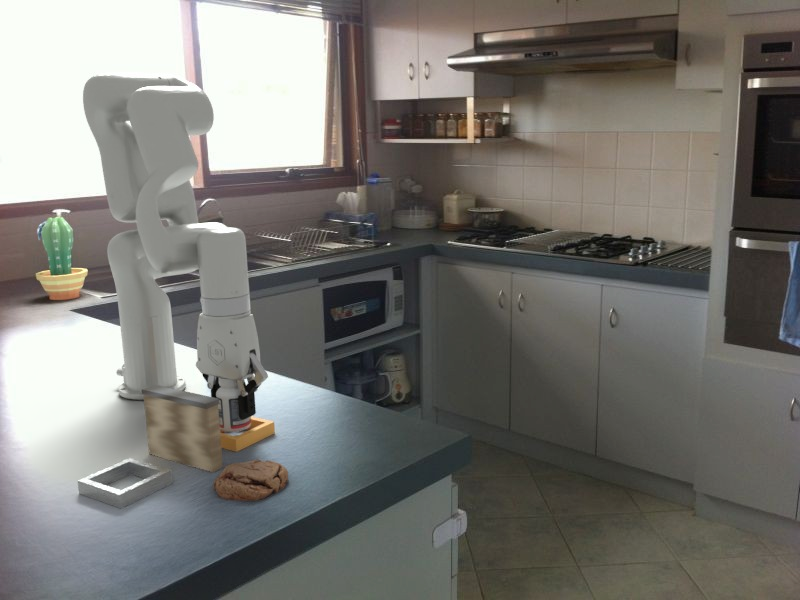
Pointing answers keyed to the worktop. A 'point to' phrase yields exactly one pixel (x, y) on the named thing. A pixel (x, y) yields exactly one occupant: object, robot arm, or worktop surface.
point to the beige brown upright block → (183, 427)
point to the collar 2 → (248, 435)
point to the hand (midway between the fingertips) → (234, 412)
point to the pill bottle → (230, 407)
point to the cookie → (250, 480)
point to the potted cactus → (59, 261)
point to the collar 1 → (153, 482)
